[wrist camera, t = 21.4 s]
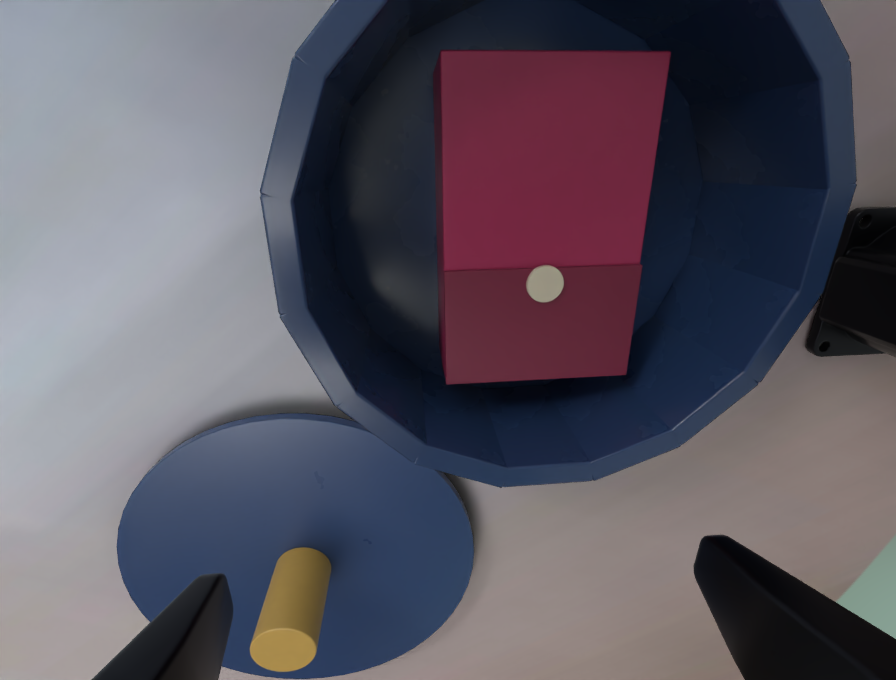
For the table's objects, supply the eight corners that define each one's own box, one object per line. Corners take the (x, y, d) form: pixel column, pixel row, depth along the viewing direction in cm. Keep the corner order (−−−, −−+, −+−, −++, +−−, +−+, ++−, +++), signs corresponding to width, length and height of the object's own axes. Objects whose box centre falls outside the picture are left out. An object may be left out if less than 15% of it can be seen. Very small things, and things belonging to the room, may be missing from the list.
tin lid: (472, 395, 20) (493, 466, 15) (470, 643, 26) (484, 748, 22) (82, 417, 19) (-25, 502, 14) (176, 672, 25) (123, 791, 20)
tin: (753, -20, 15) (954, -124, 10) (672, 388, 21) (768, 469, 15) (282, -30, 14) (201, -156, 8) (335, 406, 20) (308, 502, 14)
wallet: (432, 71, 15) (440, 46, 12) (621, 71, 15) (678, 47, 12) (439, 347, 19) (446, 387, 15) (590, 340, 19) (628, 377, 16)
